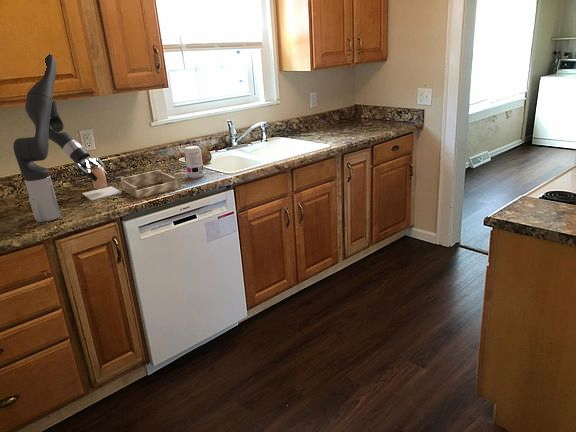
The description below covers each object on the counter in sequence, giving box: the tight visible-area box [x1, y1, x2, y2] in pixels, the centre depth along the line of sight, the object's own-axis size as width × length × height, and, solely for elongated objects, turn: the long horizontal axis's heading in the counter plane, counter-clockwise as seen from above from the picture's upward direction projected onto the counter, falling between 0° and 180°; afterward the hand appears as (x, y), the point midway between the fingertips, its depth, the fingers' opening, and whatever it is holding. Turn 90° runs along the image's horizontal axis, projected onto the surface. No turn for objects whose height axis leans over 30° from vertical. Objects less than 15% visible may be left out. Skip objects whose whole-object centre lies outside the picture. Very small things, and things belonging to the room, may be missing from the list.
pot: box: [90, 165, 108, 189], centre depth 210 cm, size 6×6×9 cm
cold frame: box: [120, 169, 179, 200], centre depth 214 cm, size 20×18×6 cm
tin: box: [184, 148, 213, 165], centre depth 254 cm, size 15×3×8 cm, turn 106°
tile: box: [82, 186, 123, 202], centre depth 213 cm, size 14×14×1 cm
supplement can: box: [183, 145, 205, 179], centre depth 229 cm, size 8×8×15 cm
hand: (101, 177), depth 210 cm, fingers closed on pot, 6 cm apart
